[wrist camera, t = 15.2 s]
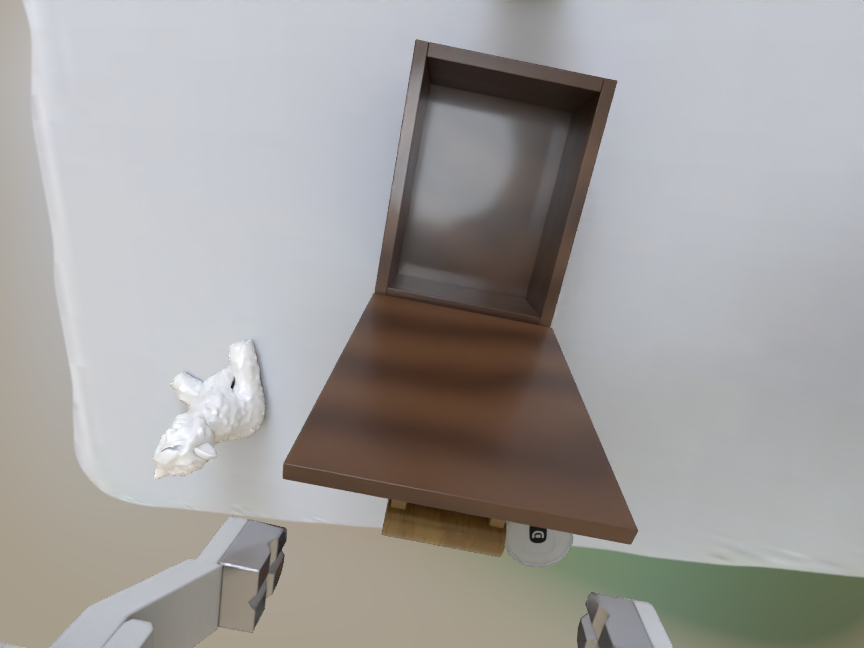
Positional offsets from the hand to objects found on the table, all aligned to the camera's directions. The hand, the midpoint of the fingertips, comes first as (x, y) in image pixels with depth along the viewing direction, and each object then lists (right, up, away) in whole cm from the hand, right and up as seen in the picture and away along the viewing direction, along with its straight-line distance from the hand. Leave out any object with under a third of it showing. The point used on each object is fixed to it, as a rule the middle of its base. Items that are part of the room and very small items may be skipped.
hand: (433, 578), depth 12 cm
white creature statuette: (-20, 0, +34) cm, 39 cm away
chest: (+4, +18, +28) cm, 34 cm away
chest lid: (+2, +4, +14) cm, 14 cm away
